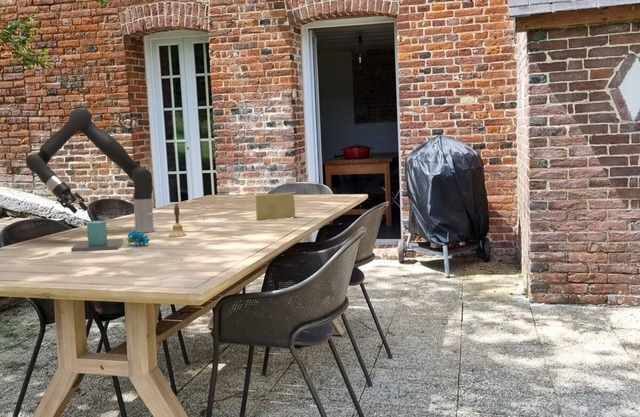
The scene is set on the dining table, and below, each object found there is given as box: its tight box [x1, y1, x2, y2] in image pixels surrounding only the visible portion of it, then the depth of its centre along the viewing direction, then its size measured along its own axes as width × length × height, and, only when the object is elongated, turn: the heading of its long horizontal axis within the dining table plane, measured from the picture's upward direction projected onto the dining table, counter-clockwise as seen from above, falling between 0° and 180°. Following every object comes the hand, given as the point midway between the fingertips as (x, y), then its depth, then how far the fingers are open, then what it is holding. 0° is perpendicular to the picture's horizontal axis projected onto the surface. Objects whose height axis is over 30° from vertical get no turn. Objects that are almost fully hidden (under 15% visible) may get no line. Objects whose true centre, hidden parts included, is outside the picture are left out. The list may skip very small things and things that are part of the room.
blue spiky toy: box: [126, 230, 150, 248], centre depth 324 cm, size 11×6×10 cm
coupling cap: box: [86, 220, 108, 245], centre depth 323 cm, size 6×6×10 cm
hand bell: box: [169, 203, 187, 238], centre depth 351 cm, size 8×8×16 cm
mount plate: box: [70, 238, 124, 252], centre depth 323 cm, size 20×20×9 cm
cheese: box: [255, 192, 296, 221], centre depth 405 cm, size 22×10×15 cm, turn 93°
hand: (81, 210), depth 333 cm, fingers open, 8 cm apart
